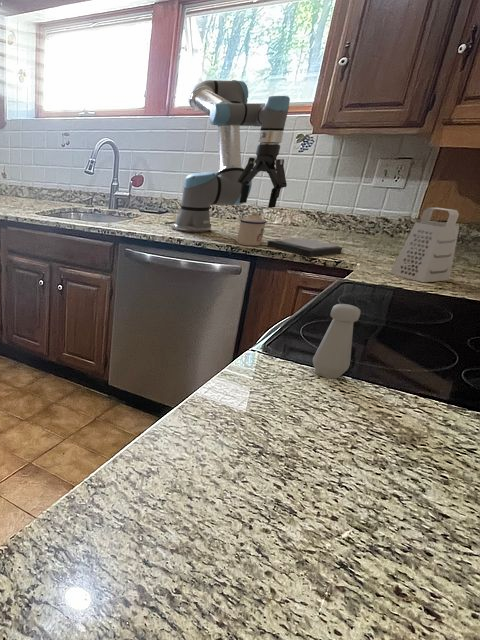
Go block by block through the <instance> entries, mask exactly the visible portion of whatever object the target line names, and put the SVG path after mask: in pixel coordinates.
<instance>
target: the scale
mask: <svg viewBox="0 0 480 640" xmlns="http://www.w3.org/2000/svg"><path fill="white" fill-rule="evenodd" d="M267 247H270V248H273V249H276V250H281V251H284V252H289V253H292V254H297V255H302V256H305V257H308V258H309V257H318V256H327V255H328V256H329V255H338V254H342V250H343V247H341V246H340V245H336V244H333V243H327V242H323V241H318V240H315V239H314V240H313V239H309V238H304V237H296V238H286V239H277V240H276V239H275V240H267Z"/></svg>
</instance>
